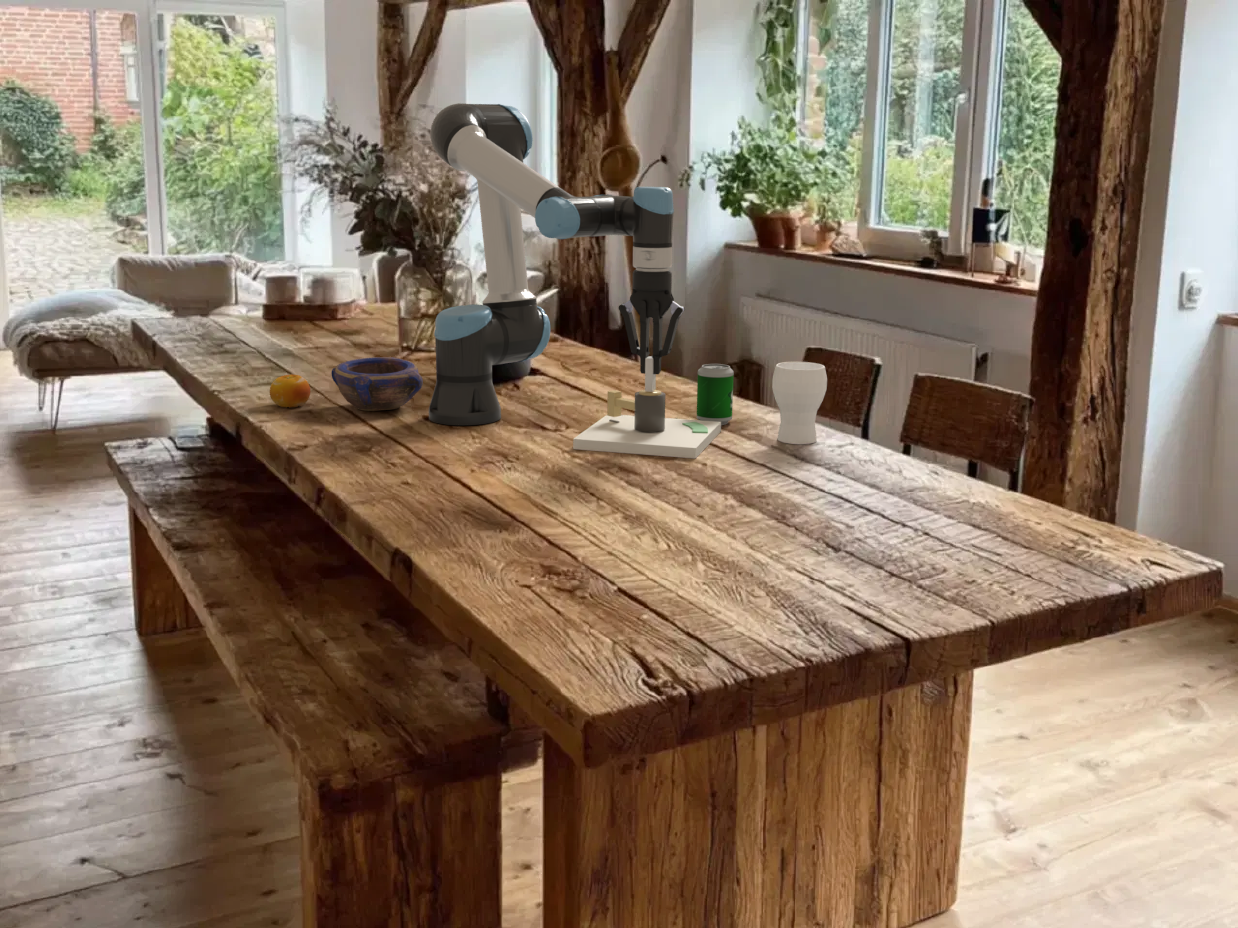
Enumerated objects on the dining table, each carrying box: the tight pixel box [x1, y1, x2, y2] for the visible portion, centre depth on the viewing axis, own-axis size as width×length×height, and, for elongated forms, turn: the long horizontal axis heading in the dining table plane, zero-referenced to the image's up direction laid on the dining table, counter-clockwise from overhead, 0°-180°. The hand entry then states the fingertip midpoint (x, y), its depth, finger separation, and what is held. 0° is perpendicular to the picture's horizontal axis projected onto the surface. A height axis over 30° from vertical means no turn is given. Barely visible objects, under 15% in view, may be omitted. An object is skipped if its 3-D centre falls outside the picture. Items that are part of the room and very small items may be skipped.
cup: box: [771, 361, 828, 445], centre depth 253 cm, size 11×11×15 cm
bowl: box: [330, 356, 424, 412], centre depth 279 cm, size 18×18×10 cm
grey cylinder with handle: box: [606, 389, 666, 432], centre depth 255 cm, size 14×6×7 cm, turn 45°
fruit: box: [269, 374, 311, 408], centre depth 281 cm, size 8×8×8 cm
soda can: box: [696, 363, 735, 426], centre depth 269 cm, size 8×8×12 cm
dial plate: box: [572, 414, 722, 459], centre depth 253 cm, size 24×24×2 cm
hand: (650, 390), depth 251 cm, fingers closed
